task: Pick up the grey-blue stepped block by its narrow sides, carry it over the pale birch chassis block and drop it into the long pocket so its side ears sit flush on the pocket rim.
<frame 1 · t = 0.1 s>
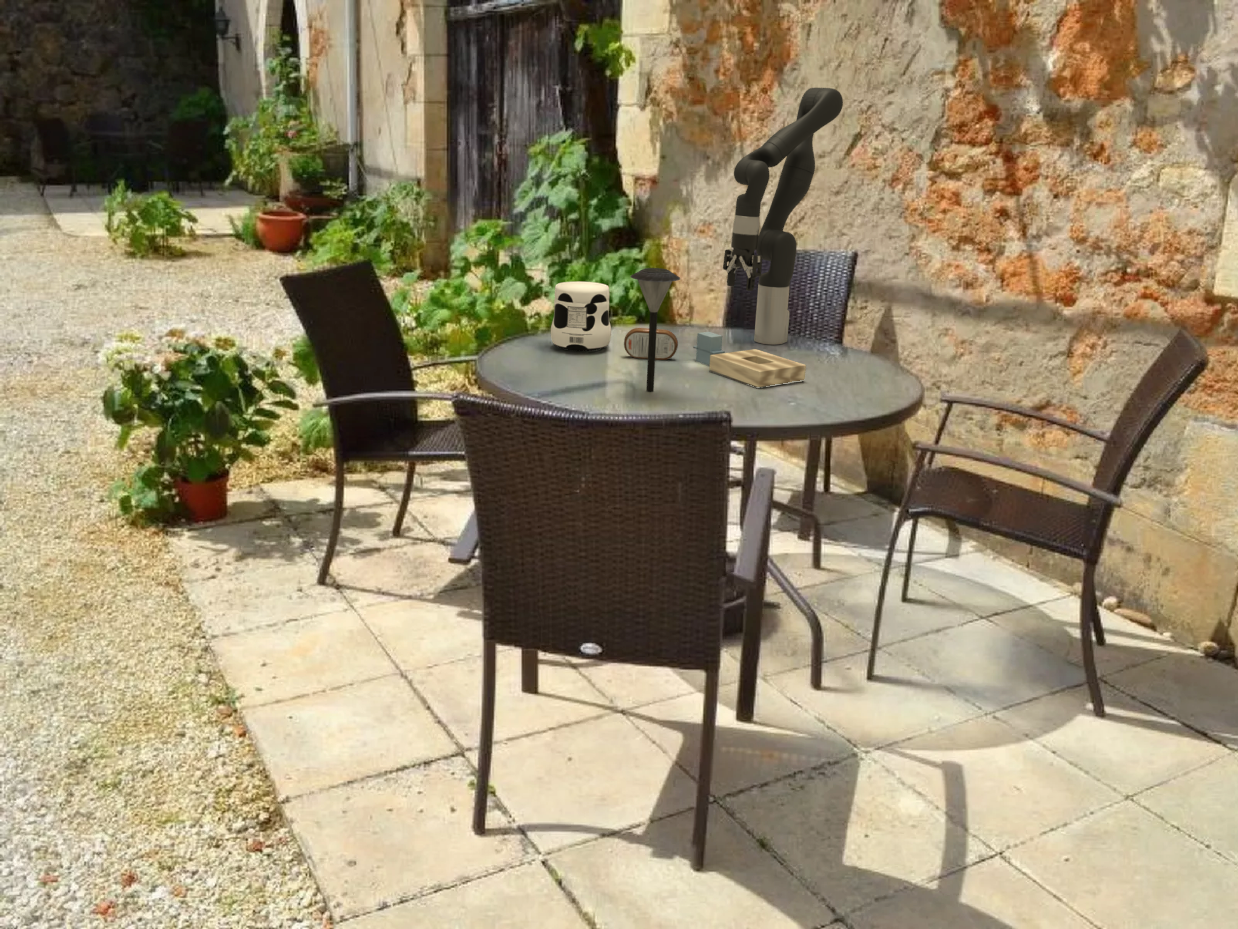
hand: (739, 288, 314), 17 cm above the table, tool pointing down, fingers open, 8 cm apart
solar garden light: (649, 391, 268), on the table
grey-blue stepped block: (708, 362, 299), on the table
tin: (649, 359, 301), on the table
chassis block: (756, 376, 286), on the table
milk container: (580, 349, 310), on the table
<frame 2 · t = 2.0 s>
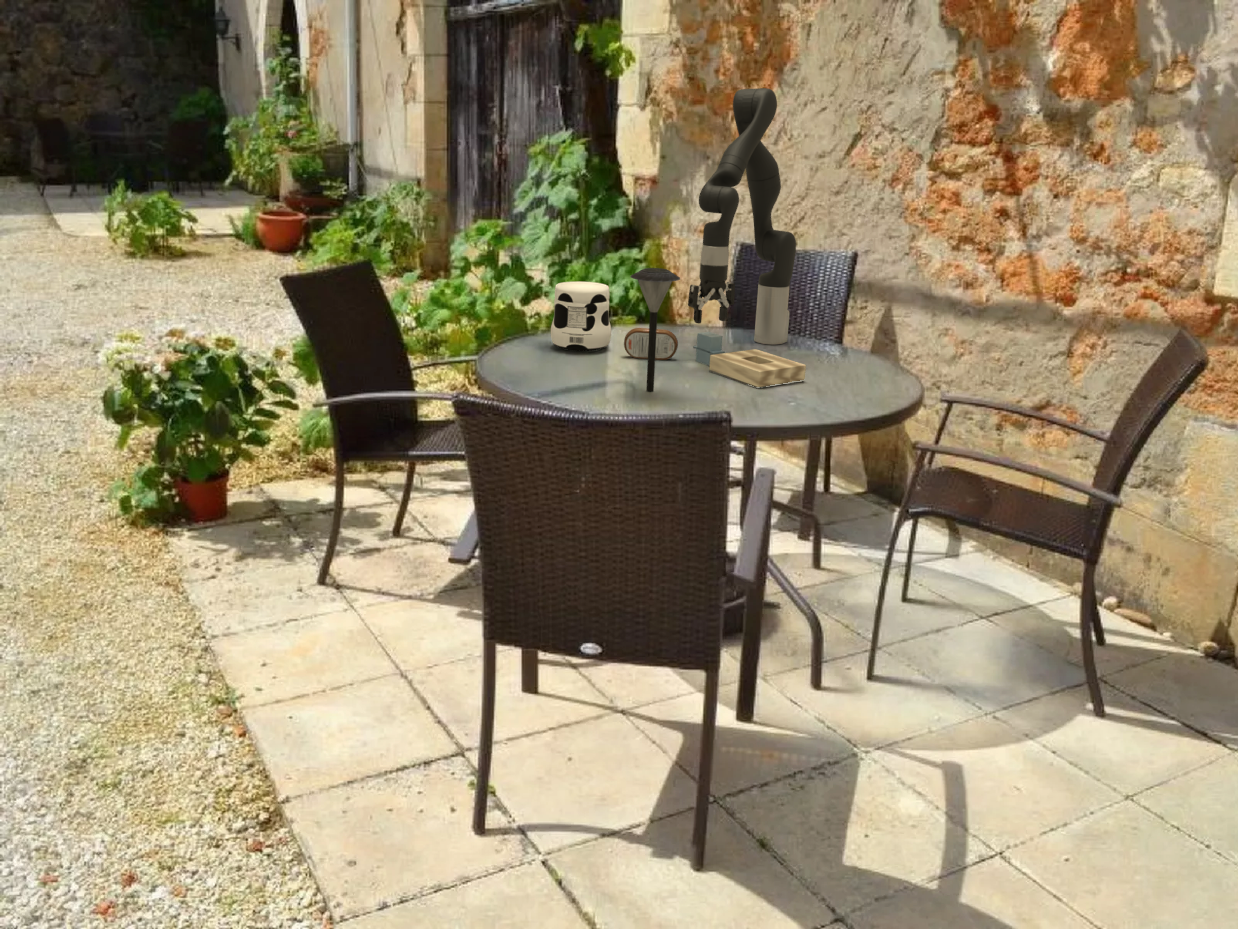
hand: (709, 321, 295), 11 cm above the table, tool pointing down, fingers open, 8 cm apart
nothing on the table moved.
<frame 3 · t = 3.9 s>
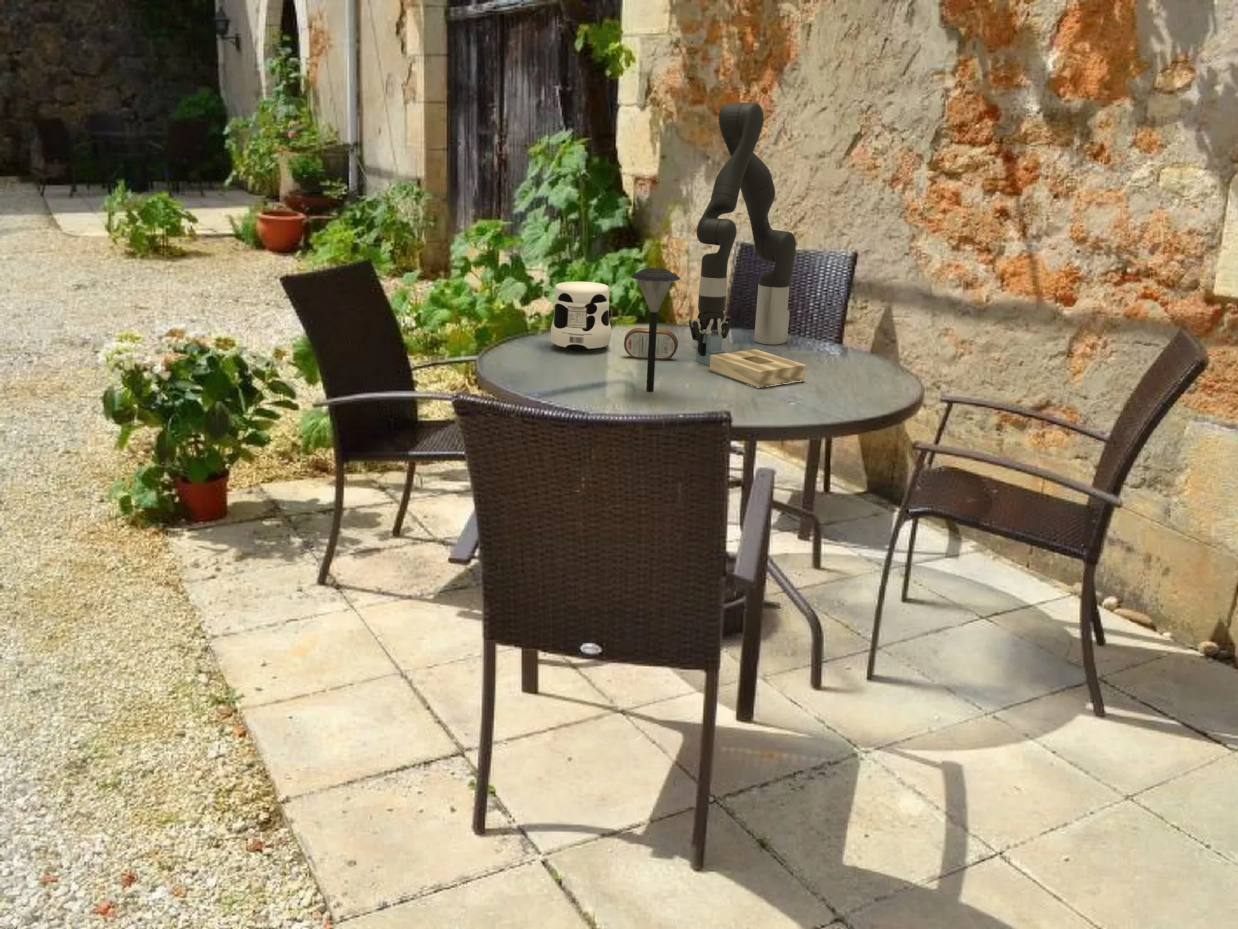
hand: (708, 354, 298), 2 cm above the table, tool pointing down, fingers closed on grey-blue stepped block, 4 cm apart
grey-blue stepped block: (708, 362, 299), on the table, touching gripper
everything else where it was.
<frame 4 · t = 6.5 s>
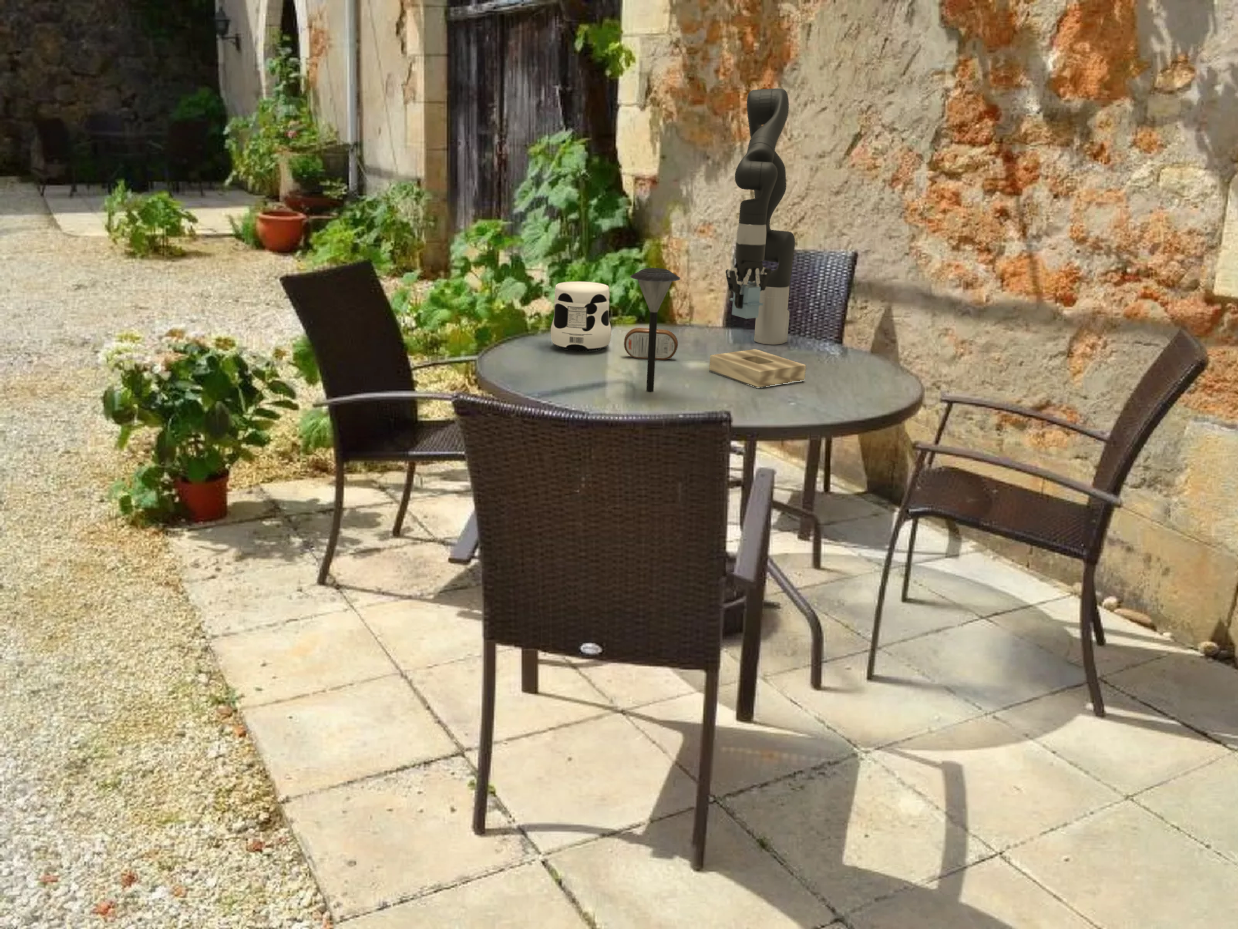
hand: (745, 307, 283), 18 cm above the table, tool pointing down, fingers closed on grey-blue stepped block, 4 cm apart
grey-blue stepped block: (744, 316, 284), point 15 cm above the table, touching gripper
everything else where it was.
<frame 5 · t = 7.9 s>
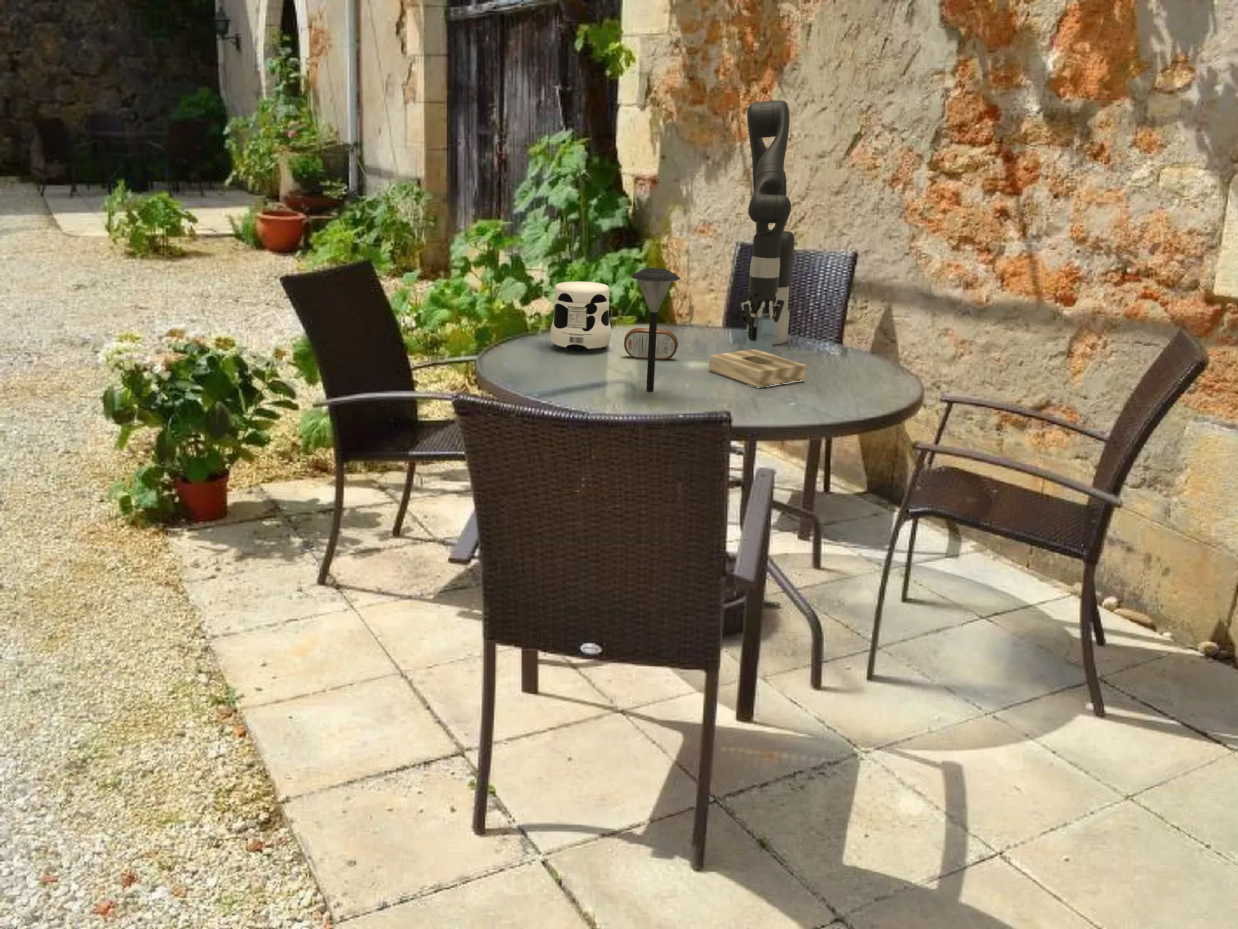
hand: (759, 339, 282), 10 cm above the table, tool pointing down, fingers closed on grey-blue stepped block, 4 cm apart
grey-blue stepped block: (758, 347, 283), point 8 cm above the table, touching gripper
everything else where it was.
when the fingers open (6 cm above the table, at t = 9.1 s): grey-blue stepped block drops 2 cm, resting on chassis block.
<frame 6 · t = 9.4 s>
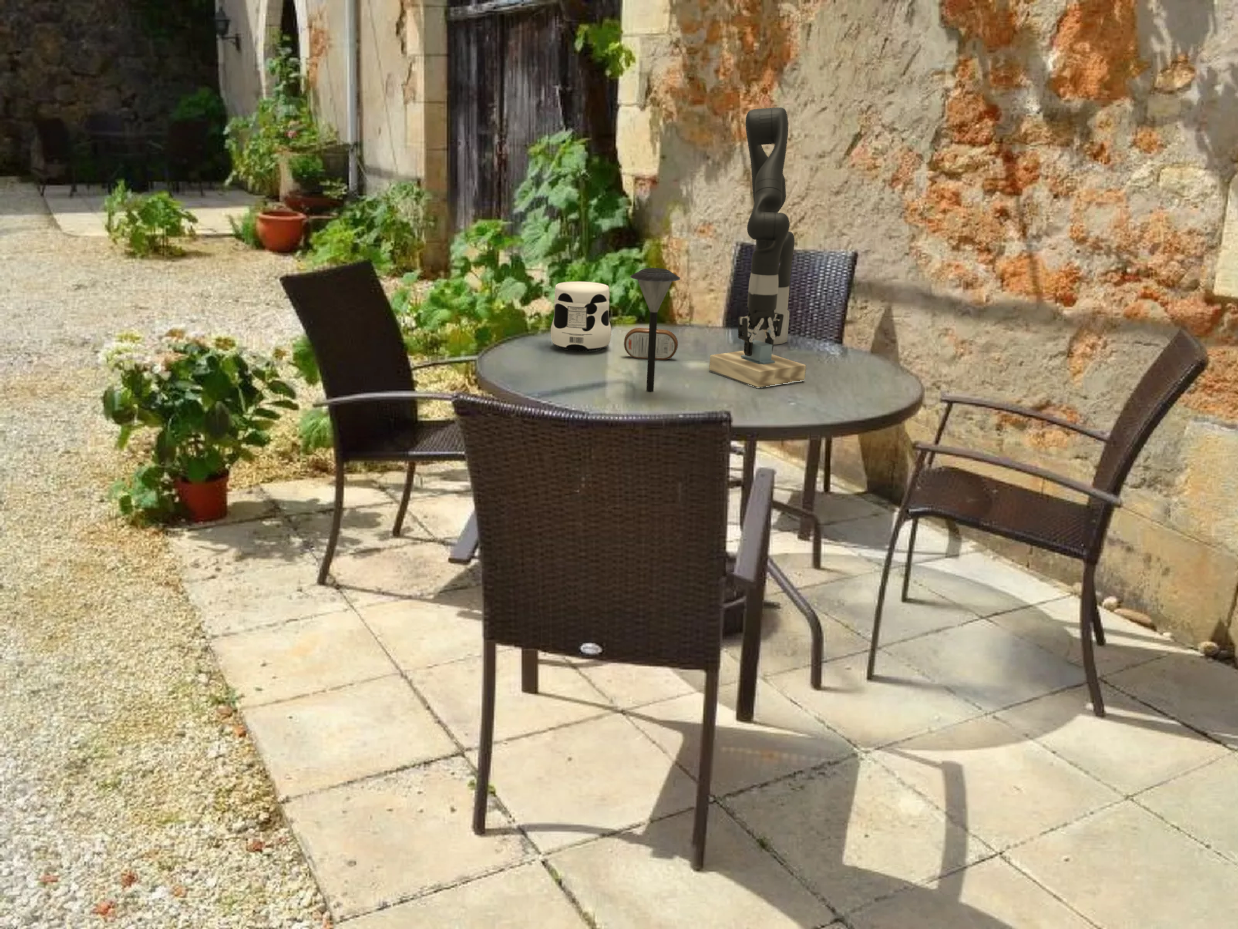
hand: (758, 353, 284), 6 cm above the table, tool pointing down, fingers open, 6 cm apart
grey-blue stepped block: (756, 372, 285), point 1 cm above the table, touching chassis block
everything else where it was.
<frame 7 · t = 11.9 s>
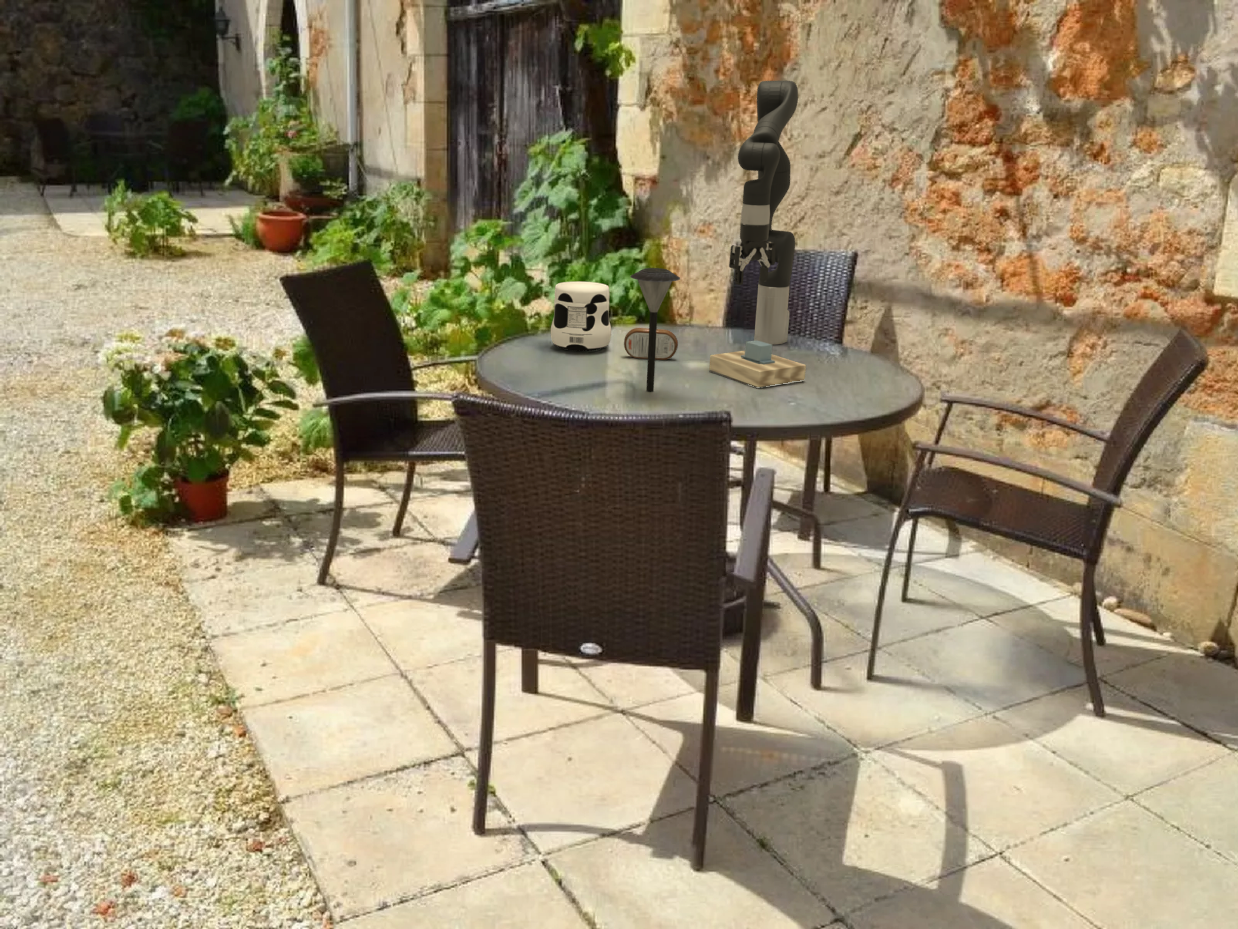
hand: (751, 282, 289), 23 cm above the table, tool pointing down, fingers open, 8 cm apart
nothing on the table moved.
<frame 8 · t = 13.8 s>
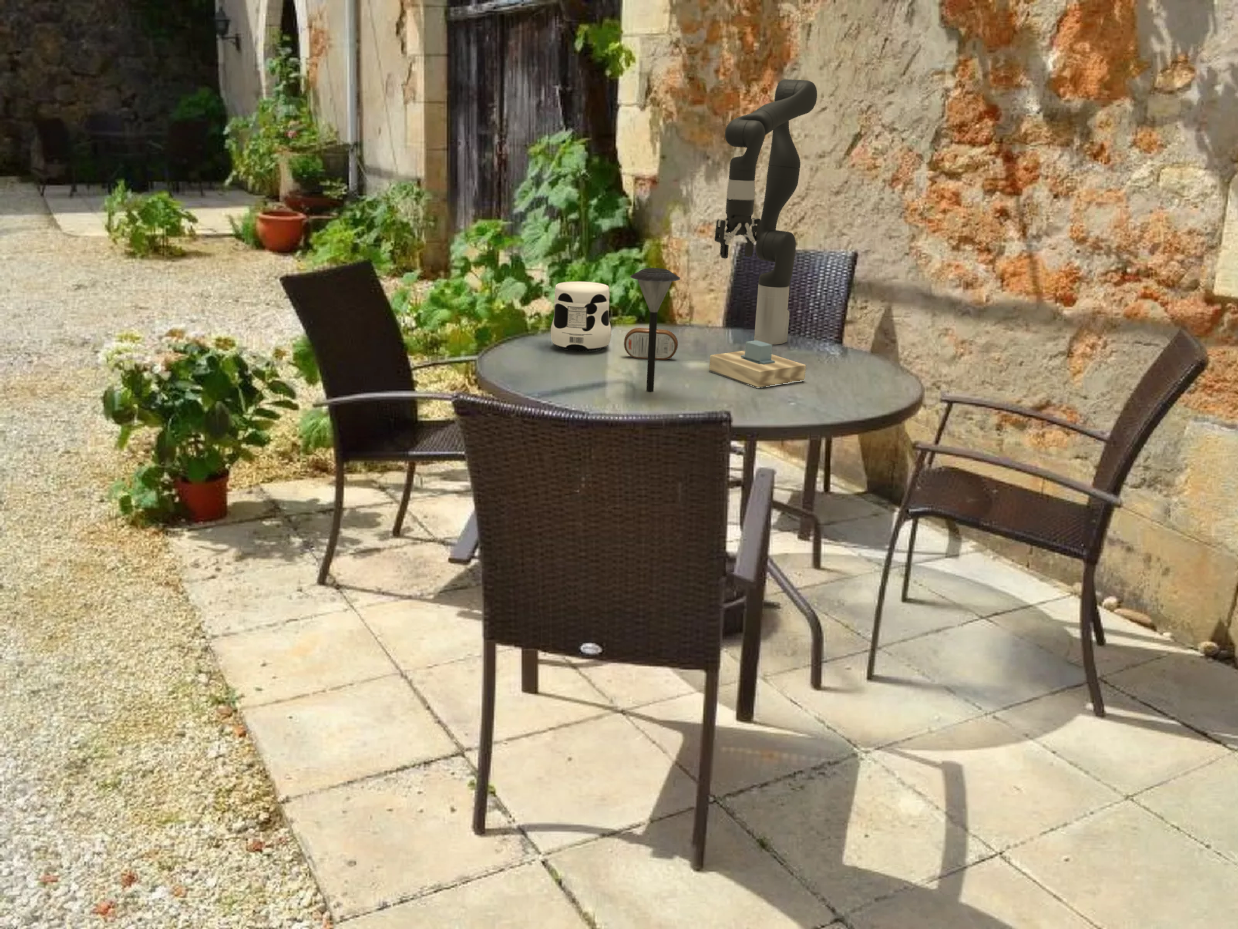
hand: (736, 257, 297), 28 cm above the table, tool pointing down, fingers open, 8 cm apart
nothing on the table moved.
at the end: grey-blue stepped block 0.0 cm off-centre on the chassis block, point 1.0 cm above the chassis block's base; grey-blue stepped block tilted 0°; the gripper is holding nothing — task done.
